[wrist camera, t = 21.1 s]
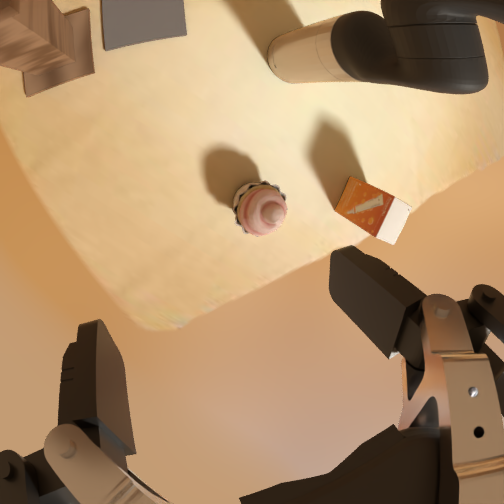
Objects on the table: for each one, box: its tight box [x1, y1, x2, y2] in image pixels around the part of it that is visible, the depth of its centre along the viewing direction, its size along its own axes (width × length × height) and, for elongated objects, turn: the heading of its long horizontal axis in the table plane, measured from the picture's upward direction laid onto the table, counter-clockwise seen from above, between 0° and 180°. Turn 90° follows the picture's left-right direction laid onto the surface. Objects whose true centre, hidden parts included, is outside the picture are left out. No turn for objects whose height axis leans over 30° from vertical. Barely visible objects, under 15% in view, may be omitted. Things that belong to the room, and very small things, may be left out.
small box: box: [335, 176, 412, 245], centre depth 53 cm, size 8×6×13 cm
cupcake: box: [232, 181, 287, 237], centre depth 46 cm, size 9×9×10 cm
